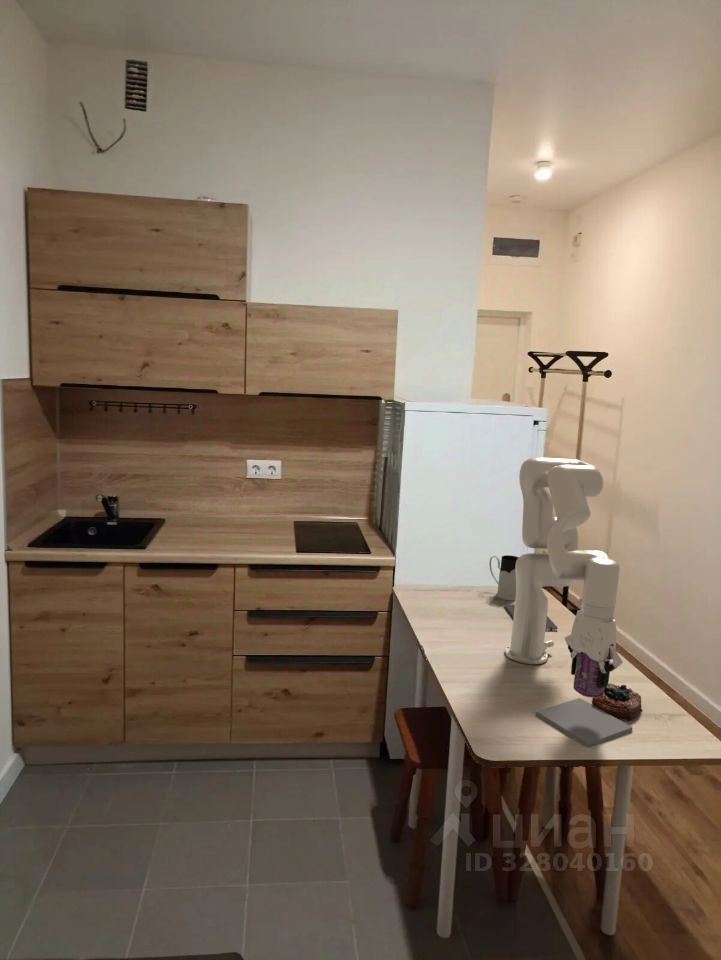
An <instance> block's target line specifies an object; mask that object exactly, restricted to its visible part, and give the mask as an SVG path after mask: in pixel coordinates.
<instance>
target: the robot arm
mask: <svg viewBox="0 0 721 960" xmlns="http://www.w3.org/2000/svg"><path fill="white" fill-rule="evenodd" d="M518 476H519V486H520V490H521V494H522V502H523V506H522V507H523V508H522V527H521V532H522V534H521V536H522V537H521V538H522V542H523V545H525V546H526V547H527V548H530V549H536V550H537V549H538V550H541V549H542V550H546V551H547V553H543V552H541V553H540V552H539V553H537V552H535V553H534V552H533V553H532V552H528V553H524V554H522V555H520V556H518V557H519V558H518V559H517V561H516V566H515V571H516V598H515V600H514V601H515V602H514V605H515V609H514V618H513V619H512V629H511V637H510V638H511V639H510V644H509V645H506V646H505V648H504V655H505V656H506V657H508V658H509V659H511V660H512V661H515V662H517V663H521V664H526V665H540V664H544V663H546V662H547V661H548V657H549V655H548V653H547V652H546V650H547V649H548V648H553V647H554V646H555V643H554V641H553V640H552V639H551V640H546V641H545V639H546V638H545V635H546V631H545V629H546V620H547V616H548V610H549V599H548V596H546V595H547V594H545V592H544V591H543V587H570V586H572V585H573V584H574V583H575V581H583V588H582V594H581V595H582V596H581V598H579V599H578V604H579V605H580V609H578V610H577V612H576V614H575V617H574V620H573V625H572V628H571V632H570V634H569V635H567V636H565V637H564V640H565V643H566V646H567V649H568V651H569V653H570V658H571V669H570V675H571V676H572V675H573V676H575V669H576V661H577V653H580V652H585V653H586V654H587V655H588V656H589V658H591V659H592V660H594V661H596V662H599V666H600V669H601V672H599V673H598V680H597V688H599V689H600V688H603V687H607V685H608V684H609V683H610V682H609V681H610V673H612V672H613V671H614V670H616V669H617V668H618V667H620V666H621V665H622V664H623V660H622V658H621V657H620V655H619V654H618V652H617V651H616V648H617V647H616V646H617V623H616V619H614V618H615V617H614V616H615V609H616V601H617V594H618V585H619V578H620V569H621V568H620V565H619V562H617V561H615V560H613V559H611V557H610V556H609V555H608V554H607V553H606V552H605V551H602V550H598V549H579V548H578V547H579V545H578V544H579V533H578V532H579V531H578V528H577V527H580V526H581V525H583V524H585V523H586V522H587V521H588V520H589V519H590V517H591V509H590V506H589V502H588V500H587V499H588V498H589V497H590V498H594V497H598V496H599V495H600V494H601V493H602V490H603V488H604V479H603V476H602V474H601V471H600V470H599V469H598V467H596V466H595V465H592V464H590V463H587V462H585V461H582V460H579V459H575V458H574V459H573V458H571V459H570V458H555V457H532V458H529V459H526V460H524V461H523V463H522V464H521V466H520V469H519V475H518ZM547 488H548V489H549V491H548V490H547ZM587 497H588V498H587ZM554 513H555V516H554ZM611 660H612V662H611ZM605 661H606V667H605V663H604V662H605Z"/></svg>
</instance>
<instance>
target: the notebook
mask: <svg viewBox="0 0 721 960" xmlns="http://www.w3.org/2000/svg"><path fill="white" fill-rule="evenodd" d="M503 608H504V609H505V611H506V612H507V613H508V614H509V616H510V617H511V619H512V620H513V618H514V609H515V604H503ZM558 629H559V627H558V626H557V624H555V623H554V622H553V621H552V620H551V618H550V617H549V616H548V615H547V620H546V629H545V632H547V631H548V632H558Z"/></svg>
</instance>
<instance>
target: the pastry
mask: <svg viewBox="0 0 721 960" xmlns="http://www.w3.org/2000/svg"><path fill="white" fill-rule="evenodd" d="M591 699H592V700H591V704H592V705H594V706H595V707H597V708H599V709H601V710H603V711H604V712H606V713H608V714H610V715H612V716H613V717H615V718H618V719H619V720H621V719H622V720H621V721H626V720H627V722H631V721H633V720H634V719H635V718H636V717H637V716H638V715H639V714H640V712H643V709H642V696H641V695H640V694H639V693H638V692H635V691H634V690H633V689H632V688H631V687H630V688H627V685H626V684H622V685H619V684H618V685H616V684H614V683H612V682H611V683H610V682H608V685H607V687H605V689H604V694H603V695H602V696H600V697H595V698H591Z"/></svg>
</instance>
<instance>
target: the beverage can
mask: <svg viewBox="0 0 721 960" xmlns="http://www.w3.org/2000/svg"><path fill="white" fill-rule="evenodd" d="M604 663H605V667H606V661H605V662H604ZM599 672H601V669H600V666H599V662H596V661H594V660H592V659H591V658H589V656H588V655H587V654H586V653H585V652H580V653H577V661H576V669H575V675H574V679H573V690H574V691H575V692H576V693H578V694H580V695H581V696H583V697H585V698H591V699H593V698H595V697H600V696H602V695H603V694H604V689H605V687H603V688H600V689H599V688H597V680H598V673H599Z"/></svg>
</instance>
